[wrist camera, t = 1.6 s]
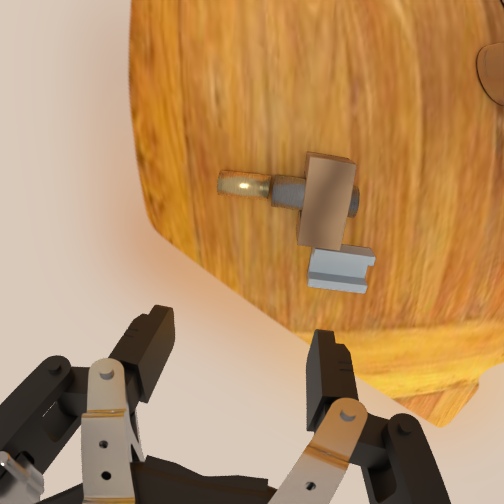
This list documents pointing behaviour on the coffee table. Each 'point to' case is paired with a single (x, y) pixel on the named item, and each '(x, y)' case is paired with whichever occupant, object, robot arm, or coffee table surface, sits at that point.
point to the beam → (325, 201)
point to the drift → (243, 185)
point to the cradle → (340, 268)
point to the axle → (301, 194)
